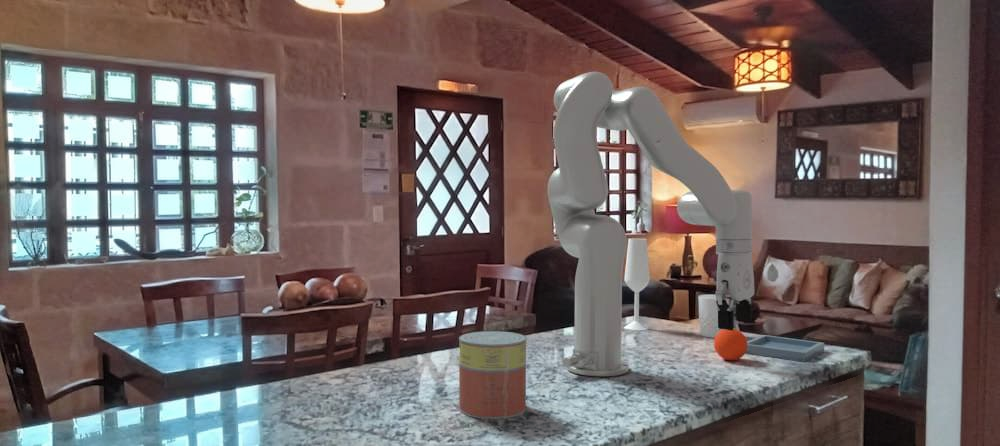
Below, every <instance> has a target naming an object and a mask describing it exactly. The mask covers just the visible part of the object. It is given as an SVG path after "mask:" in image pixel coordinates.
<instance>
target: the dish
mask: <svg viewBox="0 0 1000 446" xmlns="http://www.w3.org/2000/svg"><path fill="white" fill-rule="evenodd" d="M824 352H825V342H820V341H814V340H813V341H812V340H807V339H806V340H805V339H797V338H792V337H791V338H789V337H785V336H784V337H782V336H776V335H775V336H773V335H768V334H767V335H766V334H762V335H760V336H757V337H755V338H752V339H749V340H747V350H746V352H745V354H746V353H748V354H747V355H753V354H755V355H754V356H760V355H761V357H767V358H773V359H781V360H786V361H787V360H788V361H795V362H800V363H806V362H808V361H810V360H811V359H813V358H815V357H816V356H818V355H821V354H822V353H824Z"/></svg>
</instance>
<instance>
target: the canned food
mask: <svg viewBox="0 0 1000 446" xmlns="http://www.w3.org/2000/svg"><path fill="white" fill-rule="evenodd" d="M527 339H528V338H527V336H526V335H524V334H522V333H519V332H518V333H517V332H514V331H513V332H512V331H506V330H505V331H501V330H485V331H484V330H483V331H482V330H481V331H473V332H467V333H464V334H462V335H460V336H459V337H458V340H459V344H458V345H459V354H458V355H459V357H458V358H459V361H458V362H459V364H458V365H459V367H458V369H459V371H458V372H459V373H458V374H459V380H458V381H459V383H458V384H459V391H458V393H459V394H458V395H459V397H458V398H459V399H458V400H459V401H458V403H459V405H458V411H459V412H460V413H461V414H463V415H465V416H468V417H471V418H476V419H482V420H483V419H484V420H500V419H501V420H502V419H510V418H515V417H518V416H520V415H523V414H524V413H525V412H526V410H527V406H526V405H527V404H526V403H527V402H526V401H527V396H526V394H527V393H526V392H527V391H526V390H527V389H526V388H527V387H526V381H527V376H526V374H527V373H526V372H527V361H526V360H527Z"/></svg>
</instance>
